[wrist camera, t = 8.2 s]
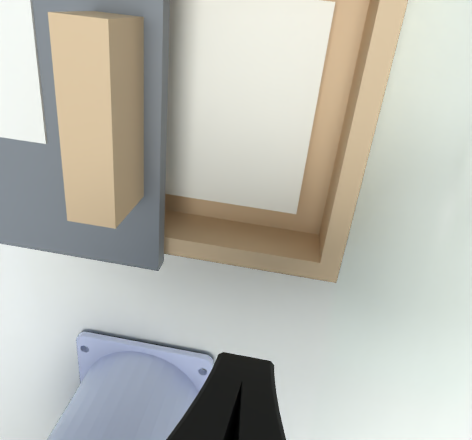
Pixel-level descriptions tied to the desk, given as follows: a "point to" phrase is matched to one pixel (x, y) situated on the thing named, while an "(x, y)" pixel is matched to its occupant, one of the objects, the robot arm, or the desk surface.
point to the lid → (84, 128)
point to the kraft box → (272, 127)
